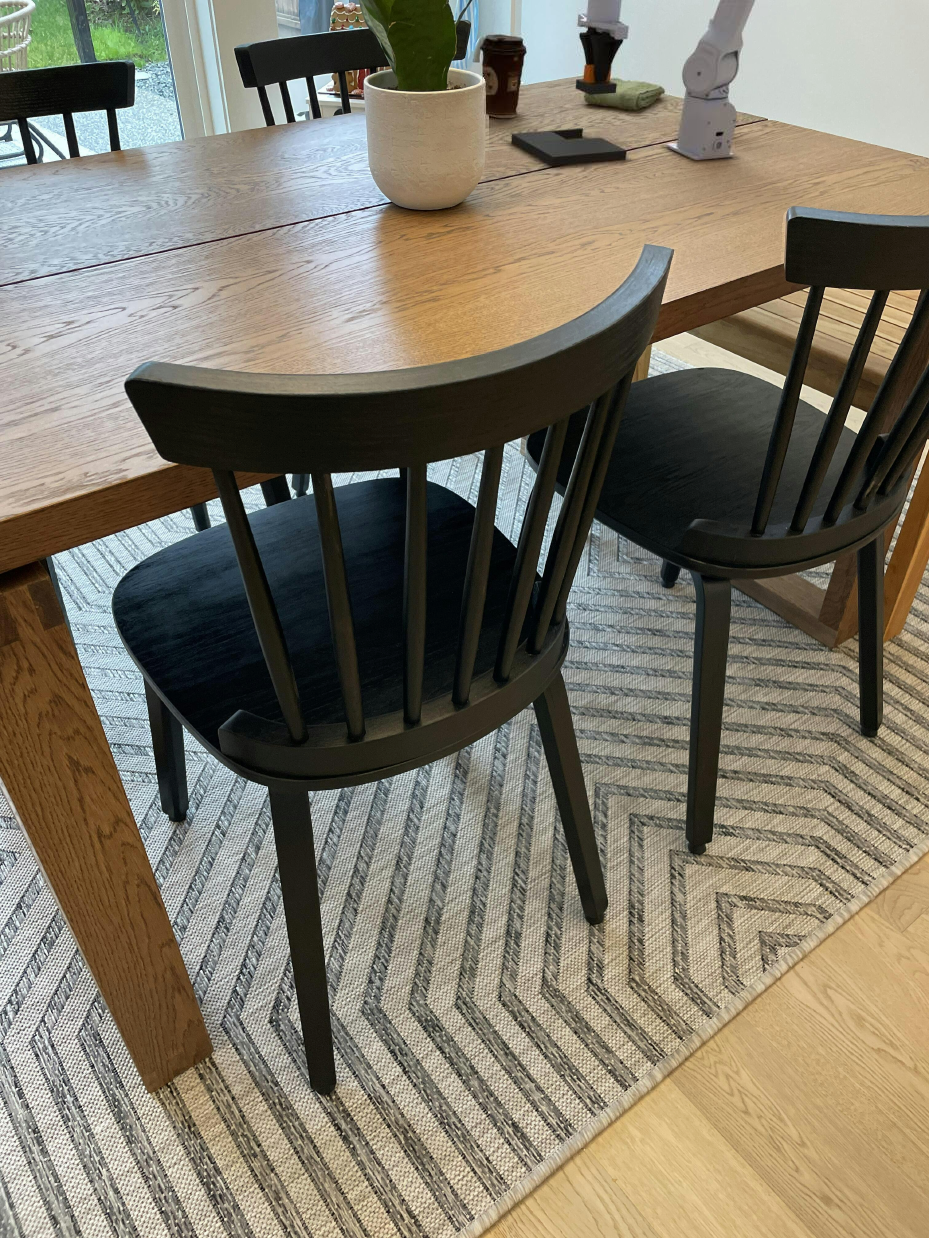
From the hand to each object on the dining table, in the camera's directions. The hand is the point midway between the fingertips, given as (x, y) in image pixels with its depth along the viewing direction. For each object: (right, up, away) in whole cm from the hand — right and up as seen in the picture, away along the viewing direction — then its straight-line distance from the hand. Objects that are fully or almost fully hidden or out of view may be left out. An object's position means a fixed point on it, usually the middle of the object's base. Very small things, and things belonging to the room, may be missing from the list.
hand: (596, 80), depth 165 cm
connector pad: (0, -1, +1) cm, 2 cm away
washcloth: (+9, +11, +26) cm, 30 cm away
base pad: (-6, -16, -6) cm, 18 cm away
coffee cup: (-17, +1, +14) cm, 22 cm away
